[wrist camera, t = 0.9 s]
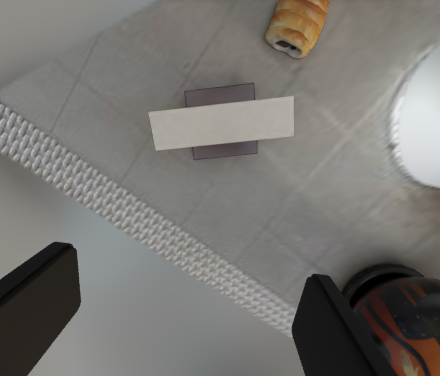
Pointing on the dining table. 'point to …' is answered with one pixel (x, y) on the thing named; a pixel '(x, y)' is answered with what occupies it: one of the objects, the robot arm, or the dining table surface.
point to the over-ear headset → (223, 123)
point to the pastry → (297, 25)
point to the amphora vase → (400, 316)
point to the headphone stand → (221, 97)
